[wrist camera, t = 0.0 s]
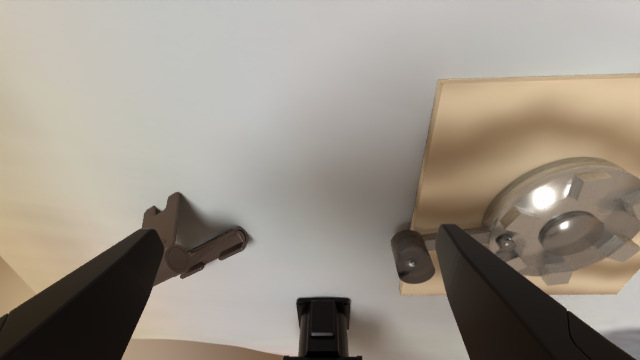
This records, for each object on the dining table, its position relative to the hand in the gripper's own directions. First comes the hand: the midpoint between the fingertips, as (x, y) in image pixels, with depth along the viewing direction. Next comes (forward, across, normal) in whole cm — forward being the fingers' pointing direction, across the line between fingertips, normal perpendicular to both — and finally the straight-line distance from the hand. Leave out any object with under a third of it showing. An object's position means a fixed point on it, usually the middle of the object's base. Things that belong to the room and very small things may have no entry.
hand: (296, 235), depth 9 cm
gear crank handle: (+14, -17, +12) cm, 25 cm away
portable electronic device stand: (+15, +13, +13) cm, 24 cm away
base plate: (+15, -21, +15) cm, 29 cm away
